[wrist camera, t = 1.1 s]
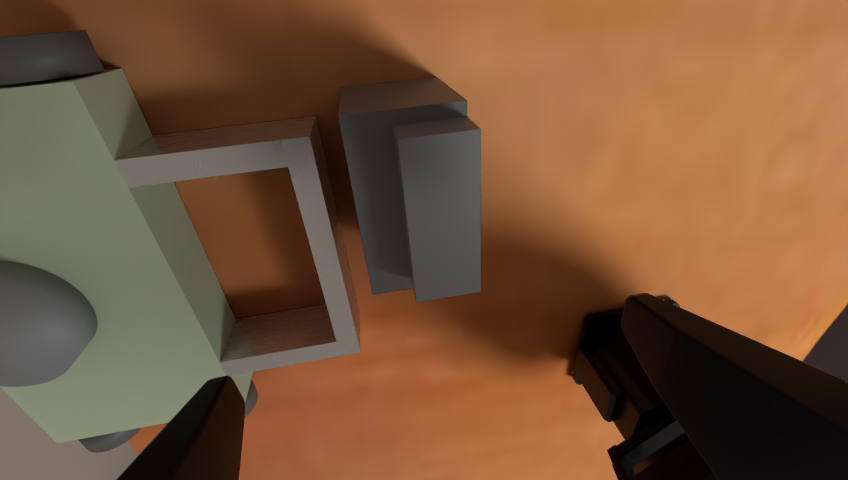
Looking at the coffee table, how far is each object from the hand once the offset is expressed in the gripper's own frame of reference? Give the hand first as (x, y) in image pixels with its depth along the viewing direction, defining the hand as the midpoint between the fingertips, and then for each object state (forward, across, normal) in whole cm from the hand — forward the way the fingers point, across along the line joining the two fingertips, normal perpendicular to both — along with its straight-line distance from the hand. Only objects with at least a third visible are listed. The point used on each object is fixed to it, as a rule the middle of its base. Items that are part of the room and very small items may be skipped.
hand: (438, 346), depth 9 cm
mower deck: (+11, +14, +2) cm, 18 cm away
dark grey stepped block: (+11, 0, 0) cm, 11 cm away
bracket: (+11, +7, +2) cm, 13 cm away
